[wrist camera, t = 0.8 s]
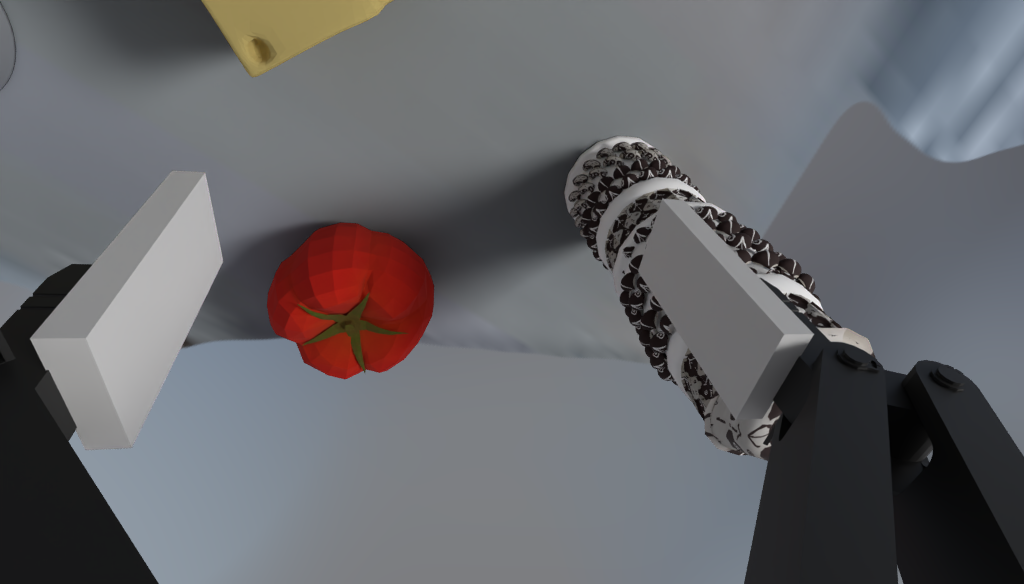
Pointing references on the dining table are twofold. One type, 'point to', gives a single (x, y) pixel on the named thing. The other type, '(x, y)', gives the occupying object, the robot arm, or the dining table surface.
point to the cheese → (284, 26)
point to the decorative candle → (621, 245)
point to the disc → (6, 48)
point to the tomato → (351, 300)
